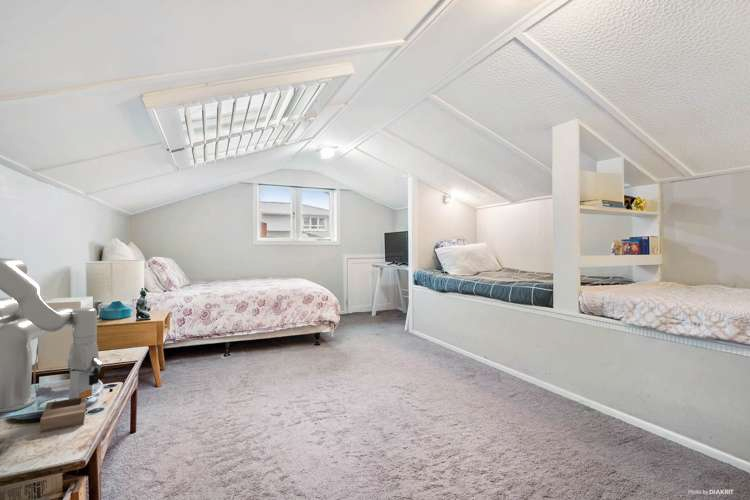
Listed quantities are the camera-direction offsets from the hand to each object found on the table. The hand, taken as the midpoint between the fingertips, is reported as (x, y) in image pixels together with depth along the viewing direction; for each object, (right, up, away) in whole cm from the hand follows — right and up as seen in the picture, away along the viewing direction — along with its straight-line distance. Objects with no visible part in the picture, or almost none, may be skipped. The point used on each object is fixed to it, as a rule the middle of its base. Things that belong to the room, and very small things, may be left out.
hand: (84, 382), depth 139 cm
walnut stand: (+6, -7, -16) cm, 18 cm away
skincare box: (-1, -7, 0) cm, 7 cm away
